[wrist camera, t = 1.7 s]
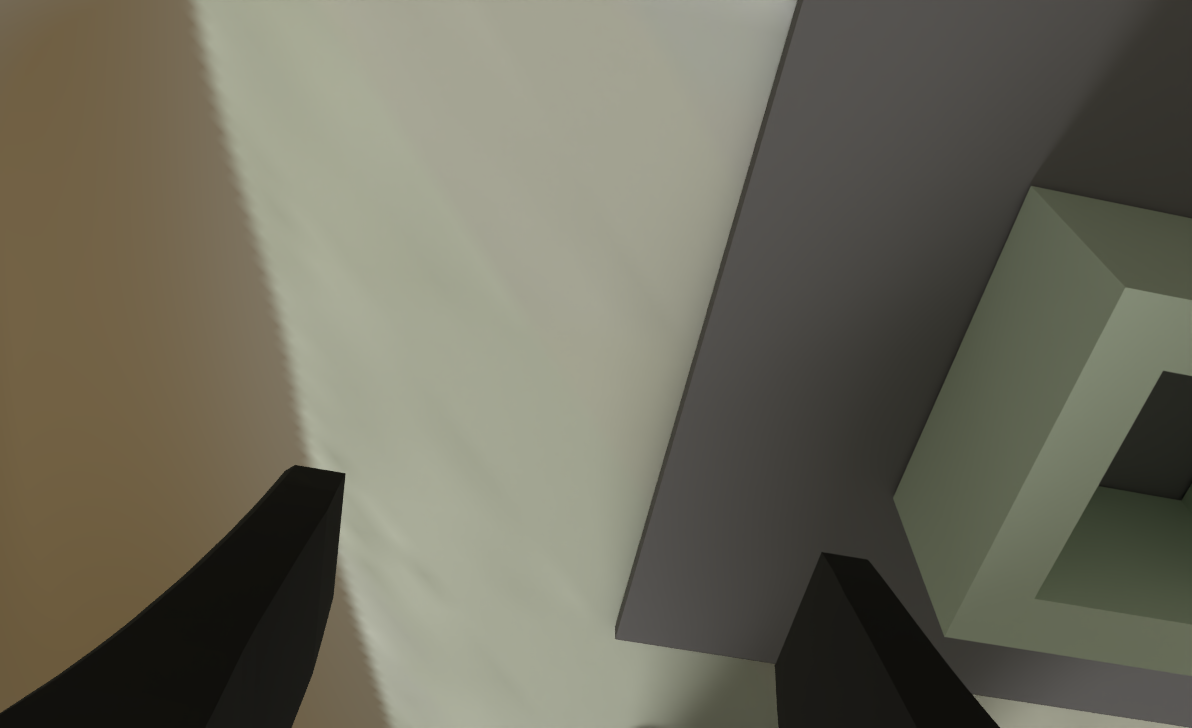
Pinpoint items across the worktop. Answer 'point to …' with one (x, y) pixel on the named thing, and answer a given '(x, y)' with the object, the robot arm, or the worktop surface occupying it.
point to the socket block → (1060, 444)
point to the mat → (902, 309)
